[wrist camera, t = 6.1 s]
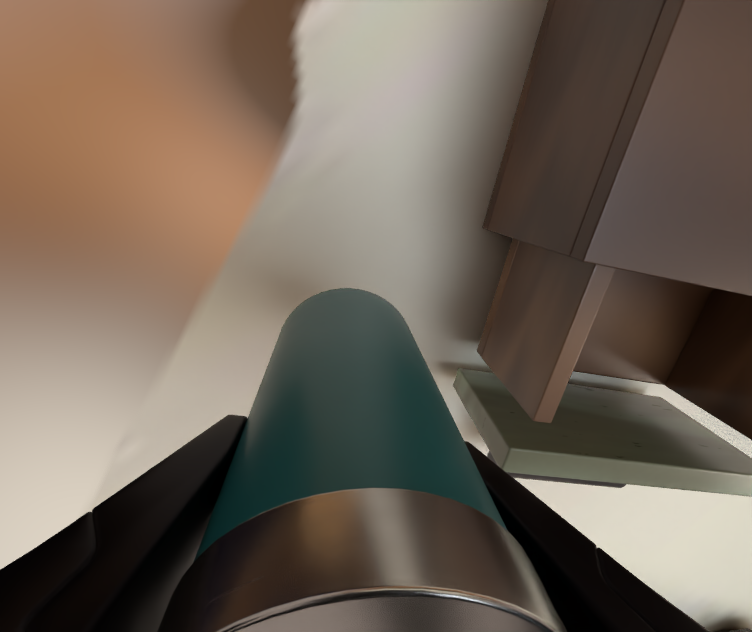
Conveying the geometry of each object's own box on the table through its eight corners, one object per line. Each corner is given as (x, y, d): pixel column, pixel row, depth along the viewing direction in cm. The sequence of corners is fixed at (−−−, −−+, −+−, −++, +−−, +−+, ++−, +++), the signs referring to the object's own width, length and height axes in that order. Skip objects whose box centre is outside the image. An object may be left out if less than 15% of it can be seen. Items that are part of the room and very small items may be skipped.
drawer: (626, 463, 24) (725, 560, 18) (434, 442, 22) (472, 544, 16) (777, 169, 19) (999, 164, 12) (538, 104, 17) (661, 58, 10)
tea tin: (440, 320, 13) (684, 654, 4) (376, 429, 15) (447, 874, 5) (309, 260, 12) (212, 529, 3) (253, 384, 13) (59, 852, 4)
